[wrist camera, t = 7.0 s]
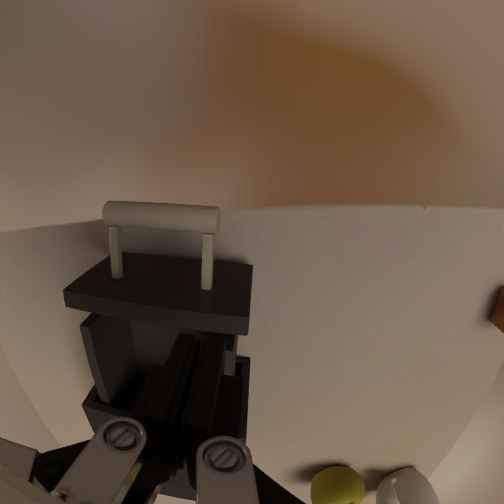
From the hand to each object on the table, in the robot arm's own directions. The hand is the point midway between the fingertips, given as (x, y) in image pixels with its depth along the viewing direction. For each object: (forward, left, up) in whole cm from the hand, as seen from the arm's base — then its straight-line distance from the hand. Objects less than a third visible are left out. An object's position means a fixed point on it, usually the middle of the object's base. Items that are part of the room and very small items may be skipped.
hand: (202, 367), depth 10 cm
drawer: (+5, -4, -13) cm, 14 cm away
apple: (+33, +17, -14) cm, 40 cm away
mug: (+39, +31, -14) cm, 52 cm away
